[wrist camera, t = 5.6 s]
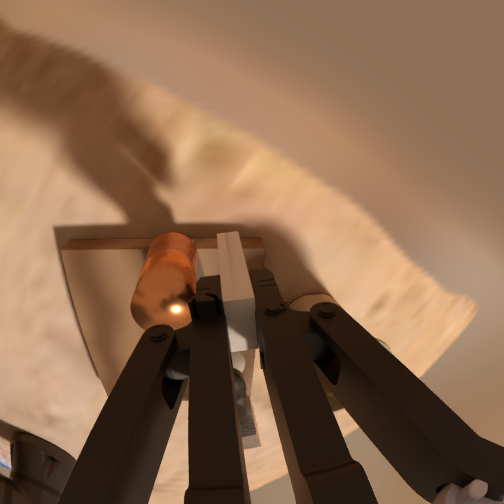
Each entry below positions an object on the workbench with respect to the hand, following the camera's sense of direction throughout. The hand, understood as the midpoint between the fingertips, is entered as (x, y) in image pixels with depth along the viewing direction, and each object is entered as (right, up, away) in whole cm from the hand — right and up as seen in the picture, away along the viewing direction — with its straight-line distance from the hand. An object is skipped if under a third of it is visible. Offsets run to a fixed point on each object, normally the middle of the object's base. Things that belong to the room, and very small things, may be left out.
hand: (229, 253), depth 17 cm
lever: (-2, -8, +8) cm, 11 cm away
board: (-7, -7, +9) cm, 13 cm away
